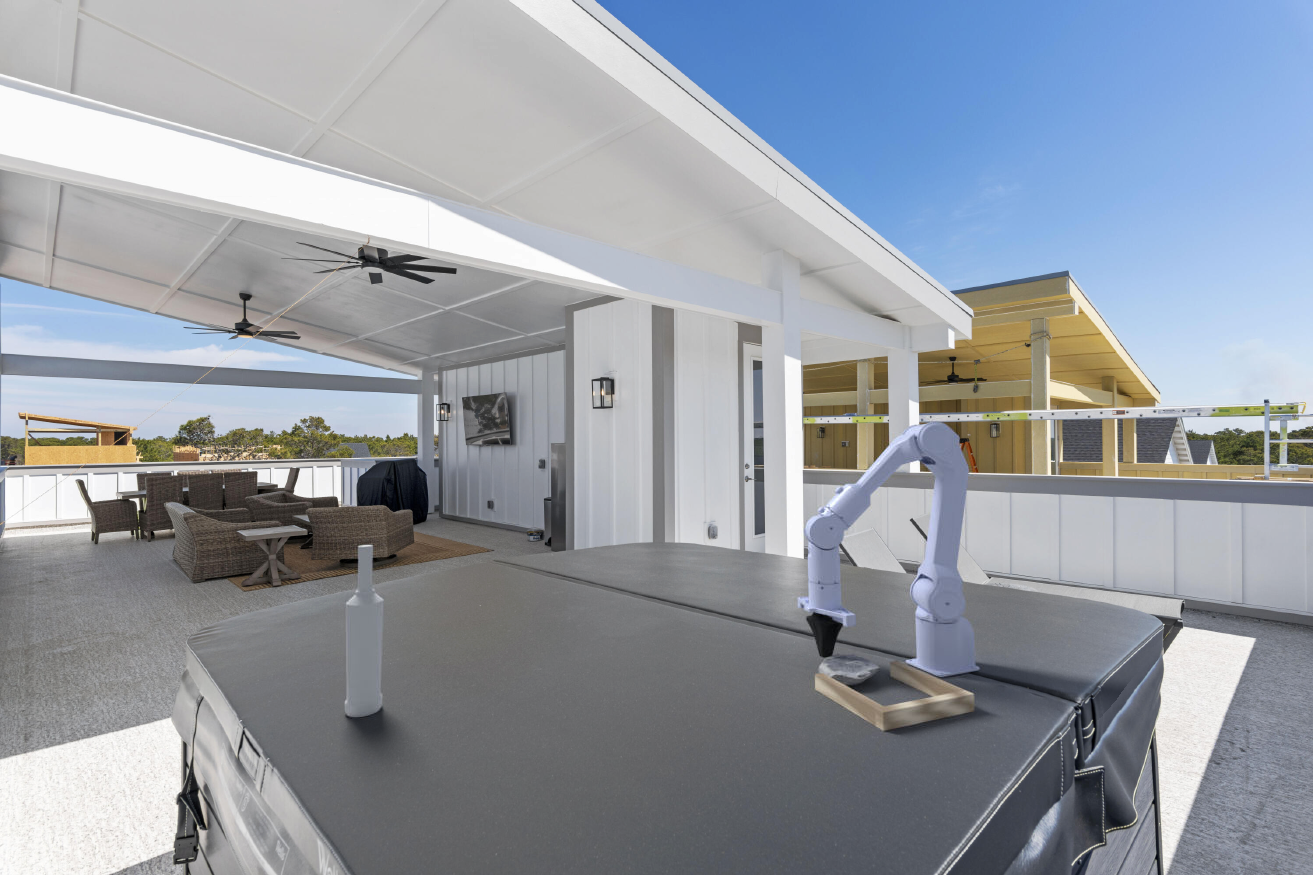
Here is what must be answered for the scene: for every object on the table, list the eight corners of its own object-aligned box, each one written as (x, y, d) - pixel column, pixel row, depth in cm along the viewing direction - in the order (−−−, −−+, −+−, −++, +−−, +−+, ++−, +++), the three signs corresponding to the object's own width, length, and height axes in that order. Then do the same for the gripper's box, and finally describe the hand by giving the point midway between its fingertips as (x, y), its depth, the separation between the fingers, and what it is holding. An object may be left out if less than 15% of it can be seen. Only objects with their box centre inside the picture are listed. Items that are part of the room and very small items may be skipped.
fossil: (817, 648, 105) (873, 642, 102) (822, 670, 105) (879, 664, 102) (816, 677, 94) (879, 670, 91) (822, 701, 94) (885, 695, 91)
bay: (897, 675, 100) (896, 660, 100) (974, 710, 85) (974, 693, 85) (815, 689, 94) (814, 674, 94) (883, 730, 79) (882, 712, 79)
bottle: (390, 705, 89) (391, 544, 90) (363, 719, 84) (365, 548, 85) (364, 701, 91) (366, 542, 92) (336, 715, 86) (338, 547, 87)
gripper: (783, 575, 111) (785, 646, 110) (831, 591, 97) (833, 672, 96) (814, 572, 113) (815, 642, 112) (864, 587, 99) (866, 667, 99)
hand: (826, 656), depth 105 cm, fingers closed
